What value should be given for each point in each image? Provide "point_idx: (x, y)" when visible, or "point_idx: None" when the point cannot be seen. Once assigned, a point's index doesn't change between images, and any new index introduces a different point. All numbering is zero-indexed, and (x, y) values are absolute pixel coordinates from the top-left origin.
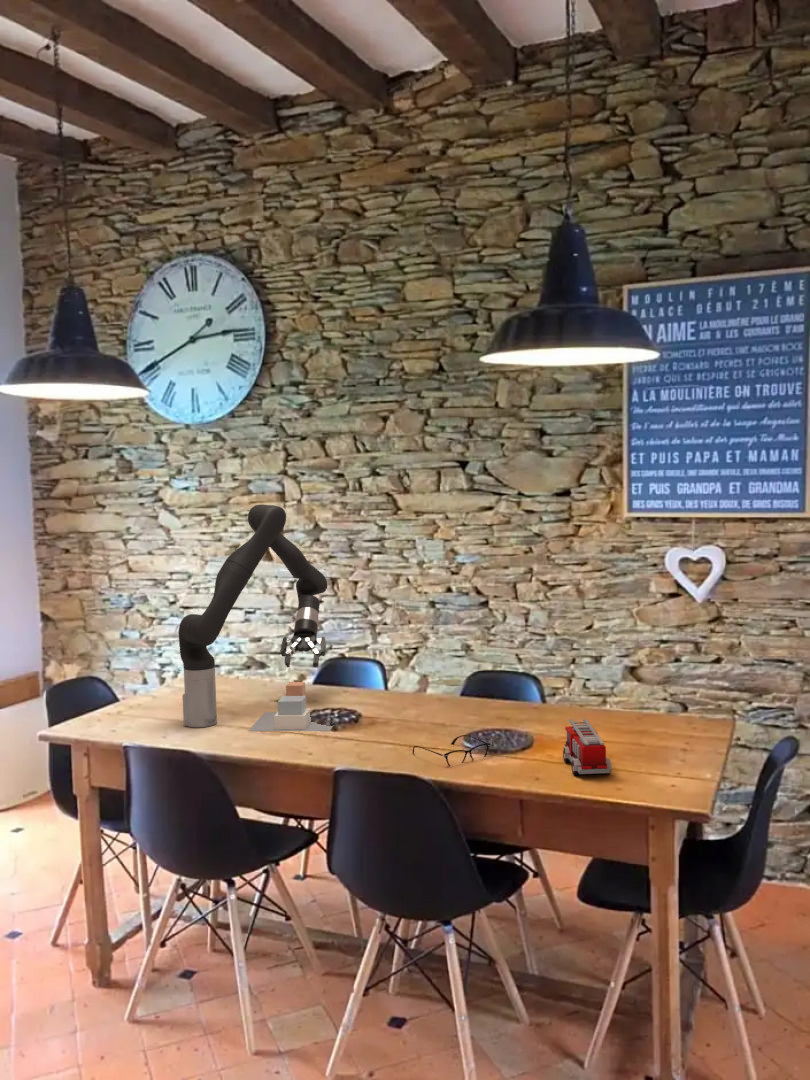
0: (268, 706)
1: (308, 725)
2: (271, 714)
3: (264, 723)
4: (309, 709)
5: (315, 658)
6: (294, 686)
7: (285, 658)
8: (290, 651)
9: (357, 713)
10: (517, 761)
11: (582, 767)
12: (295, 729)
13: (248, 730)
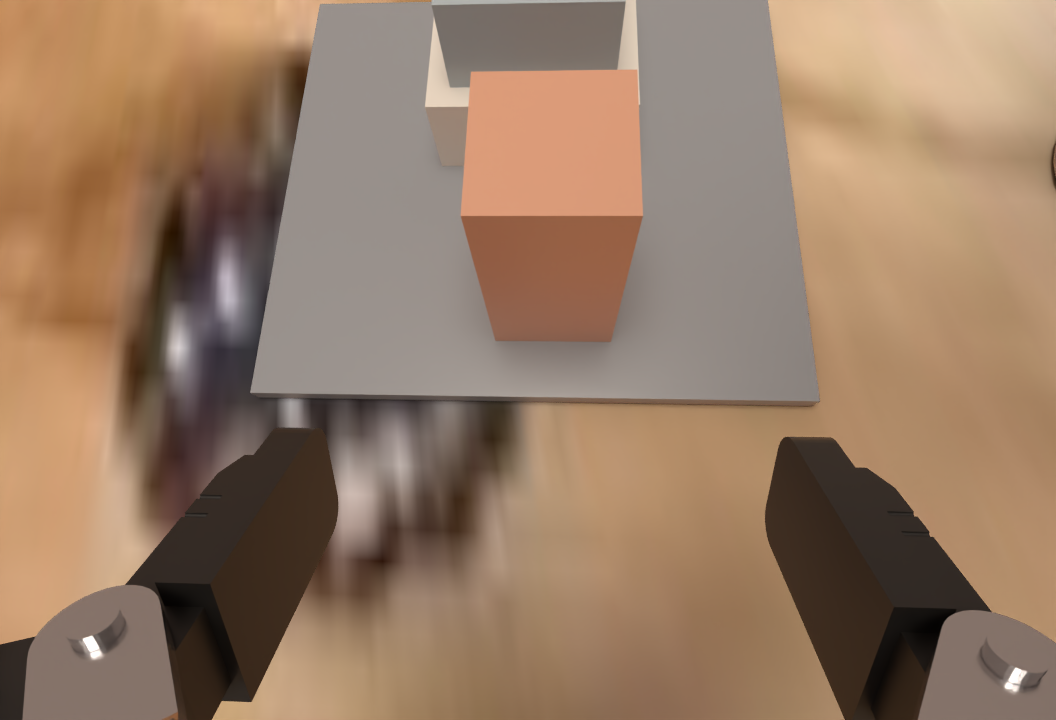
0: None
1: None
2: (746, 334)
3: (721, 127)
4: (427, 83)
5: (227, 495)
6: (549, 77)
7: (931, 548)
8: (930, 688)
9: (144, 422)
10: None
11: None
12: None
13: (766, 2)
